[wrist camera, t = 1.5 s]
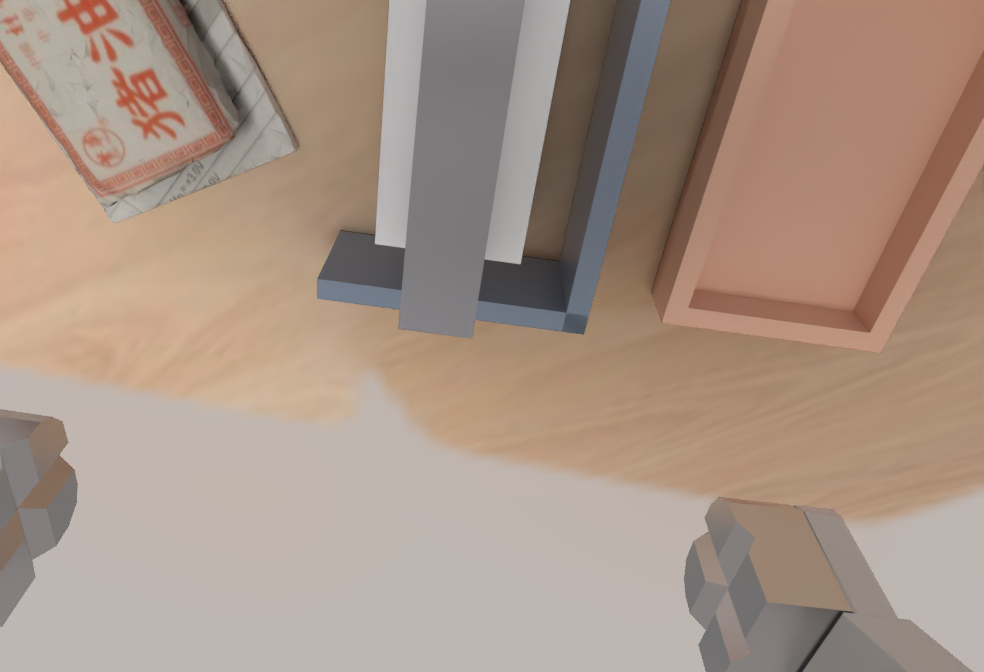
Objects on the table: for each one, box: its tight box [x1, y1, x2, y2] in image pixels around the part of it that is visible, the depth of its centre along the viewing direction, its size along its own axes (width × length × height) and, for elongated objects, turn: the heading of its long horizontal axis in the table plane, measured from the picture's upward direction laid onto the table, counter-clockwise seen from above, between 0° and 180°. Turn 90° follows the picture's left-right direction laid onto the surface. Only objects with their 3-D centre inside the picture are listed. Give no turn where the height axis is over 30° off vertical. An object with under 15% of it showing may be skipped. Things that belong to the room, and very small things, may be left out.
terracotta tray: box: [651, 0, 984, 353], centre depth 31 cm, size 11×17×3 cm, turn 172°
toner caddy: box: [375, 0, 570, 339], centre depth 25 cm, size 6×12×12 cm, turn 172°
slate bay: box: [317, 0, 671, 334], centre depth 28 cm, size 12×19×5 cm, turn 172°
